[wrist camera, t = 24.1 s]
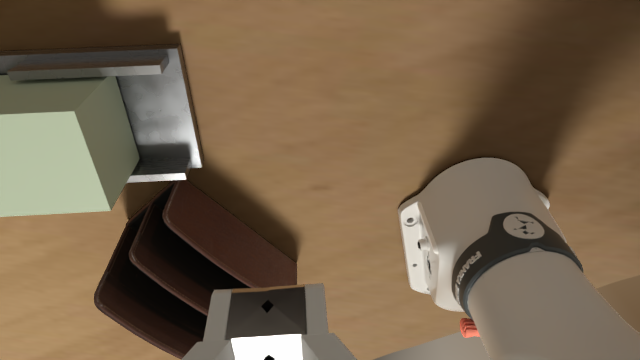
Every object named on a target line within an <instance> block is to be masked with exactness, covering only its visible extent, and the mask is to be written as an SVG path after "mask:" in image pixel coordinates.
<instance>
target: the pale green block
mask: <svg viewBox="0 0 640 360" xmlns="http://www.w3.org/2000/svg"><path fill="white" fill-rule="evenodd" d="M139 159H140V158H139V154H138V151H137V147H136V144H135V141H134V137H133V134H132V131H131V127H130V124H129V121H128V117H127V114H126V110H125V107H124V104H123V100H122V97H121V94H120V90H119V87H118V83H117V80H116V77H115V76H106V77H83V78H59V79H36V80H13V81H11V80H10V78H9V76H8V75H0V217H7V216H25V215H44V214H62V213H80V212H98V211H111V210H112V208H113V206H114V204H115V202H116V201H117V199H118V197H119V195H120V193H121V192H122V190H123V188H124V186H125V184H126V183H127V181H128V179H129V177H130V175H131V174H132V172H133V170H134V168H135V166H136V165H137V163H138V161H139Z"/></svg>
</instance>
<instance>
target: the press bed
mask: <svg viewBox="0 0 640 360" xmlns="http://www.w3.org/2000/svg"><path fill="white" fill-rule="evenodd" d="M0 75H8V76H9V78H10V80H11V81H13V80H36V79H59V78H83V77H106V76H115V77H116V80H117V83H118V87H119V90H120V94H121V97H122V100H123V104H124V107H125V110H126V114H127V117H128V121H129V124H130V127H131V131H132V134H133V137H134V141H135V144H136V147H137V151H138V154H139V158H140V159H139V161H138V163H137V165H136V166H135V168H134V170H133V172H132V174H131V175H130V177H129V179H128V181H127V183H131V182H150V181H169V180H186V179H187V176H188V173H189V171H190V168H202V166H203V162H204V158H203V153H202V148H201V143H200V138H199V133H198V128H197V123H196V118H195V113H194V108H193V103H192V98H191V93H190V88H189V83H188V78H187V73H186V68H185V63H184V58H183V53H182V48H181V44H164V45H139V46H115V47H90V48H65V49H41V50H16V51H0Z"/></svg>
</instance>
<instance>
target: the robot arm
mask: <svg viewBox="0 0 640 360" xmlns="http://www.w3.org/2000/svg"><path fill="white" fill-rule="evenodd" d="M549 206H550V202H549V201H548V199H547V197H546V196H545V195H544V194H543V193H541V192H540V191H538V190H536V189H534V188H533V187H532V185H531V183H530V181H529V179H528V177H527V176H526V174H525V173H524V172H523V171H522V170H521V169H520V168H519V167H518V166H516V165H515V164H513V163H511V162H509V161H506V160H502V159H498V158H477V159H472V160H468V161H464V162H461V163H459V164H456V165H454V166H452V167H450V168H448V169H447V170H445V171H443V172H442V173H440V174H439V175H438V176H437V177H435V178H434V179H433V180H432V181H431V182H430V183H429V184H428V185H427V186H426V188H425V189H424V190H423V191H422V192H421V193H419V194H418V195H416V196H415V197H413V198H411V199H409V200H407V201H406V202H404V203H403V204H402V205H401V206H400V207H399V209H398V215H399V222H400V228H401V235H402V242H403V248H404V255H405V262H406V268H407V275H408V281H409V284H410V286H411V288H412V289H413V290H416V291H418V292H421V293H425V294H431V296H432V299H433V301H434V303H435V304H436V305H438V306H439V307H441V308H444V309H447V310H451V311H462V312H465V313H466V314H467V315H468V316H469V317H470V318H471V319H467V318H462V319H461V320H460V329H461V333H462V334H463V336H464V337H465V338H468V337H472V336H478V337H481V339H482V342H483V344H484V346H485V349H486V351H487V353H488V356H489V358H490V360H640V333H638V332H637V331H636V330H635V329H633V328H632V327H631V326H630V325H629V324H628V323H627V322H626V321H624V320H623V319H622V318H621V316H619V314H618V313H617V312H616V311H615V310H614V309H613V308H612V307H611V306H610V305H609V303H608V302H607V301H606V300H605V299H604V298H603V297H602V296H601V295H600V293H599V292H598V291H597V290H596V289H595V287H594V286H593V285H592V284H591V283H590V281H589V280H588V279H587V278H586V276H585V275H584V274H583V268H582V265H581V263H580V261H579V260H578V258H577V256H576V255H575V252H574V251H573V250H572V248H571V247H569V246H568V245H567V243H566V239H565V237H564V235H563V233H562V232H561V230H560V228H559V227H558V225H557V223H556V222H555V220H554V219H553V217H552V215H551V214H550V212H549V211H548V209H549ZM409 218H411V219H409ZM407 219H409V220H407ZM305 297H306V298H305ZM181 360H357V359H356V358H355V357H354V355H353V354H352V353H351V352H350V351H349V350H348V349H347V347H346V346H345V345H344V344H343V343H342V342H341V341H340V339H339V338H338V337H337V336H336V335H335V334H334V333H328V323H327V312H326V301H325V290H324V285H323V283H321V284H306V285H305V284H303V285H290V286H276V287H269V288H242V289H223V290H214V292H213V293H212V296H211V302H210V307H209V312H208V317H207V323H206V328H205V333H204V338H203V342H197V343H196V344H195V345H194V346H193V347H192V348H191V350H190V351H189V352H188V353H187V354H186V355H185V356H184V357H183V358H182V359H181Z"/></svg>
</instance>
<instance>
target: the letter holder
mask: <svg viewBox="0 0 640 360" xmlns="http://www.w3.org/2000/svg"><path fill="white" fill-rule="evenodd" d="M290 285H297V263H296V262H294V261H293V260H292V259H290V258H289V257H287V256H286V255H285V254H283V253H282V252H281V251H280V250H278V249H277V248H276V247H274V246H273V245H272V244H270V243H269V242H268V241H266V240H265V239H264V238H262V237H261V236H260V235H259V234H257V233H256V232H255V231H253V230H252V229H251V228H249V227H248V226H247V225H245V224H244V223H243V222H241V221H240V220H239V219H237V218H236V217H235V216H234V215H232V214H231V213H229V212H228V211H227V210H225V209H224V208H223V207H221V205H219V204H218V203H216V202H215V201H214V200H212V199H211V198H210V197H208V196H207V195H206V194H204V193H203V192H202V191H200V190H199V189H198V188H196V187H195V186H194V185H192V184H191V183H190V182H188V181H187V180H173V181H172V182H170V183H169V184H168V185H167V186H166V187H165V188H164V189H163V190H162V191H161V192H159V193H158V194H157V195H156V196H155V197H154V198H153V199H152V200H150V201H149V202H148V203H147V204H146V205H145V206H144V207H143V208H141V209H140V210H139V211H138V212H137V213H136V214H135V215H134V216H133V217H132V218H131V219H130V220H129V221H128V222H127V223H126V227H125V229H124V231H123V233H122V235H121V237H120V240H119V242H118V244H117V246H116V248H115V250H114V252H113V255H112V257H111V259H110V261H109V264H108V266H107V268H106V270H105V272H104V274H103V276H102V278H101V280H100V282H99V285H98V287H97V289H96V291H95V294H94V303H95V306H96V307H97V308H98V309H99V310H100V311H101V312H102V313H104V314H105V315H107V316H108V317H110V318H111V319H113V320H114V321H115V322H117V323H118V324H120V325H121V326H123V327H124V328H126V329H127V330H129V331H131V332H132V333H133V334H135V335H137V336H138V337H140V338H142V339H143V340H145V341H147V342H149V343H150V344H152V345H154V346H156V347H158V348H159V349H161V350H163V351H165V352H167V353H169V354H171V355H173V356H175V357H177V358H180V359H182V358H183V357H184V356H185V355H186V354H187V353H188V352H189V351H190V350H191V348H192V347H193V346H194V345H195V344H196V343H197V342H203V338H204V333H205V328H206V323H207V317H208V312H209V307H210V302H211V296H212V293H213V292H214V290H223V289H242V288H269V287H276V286H290Z"/></svg>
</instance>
